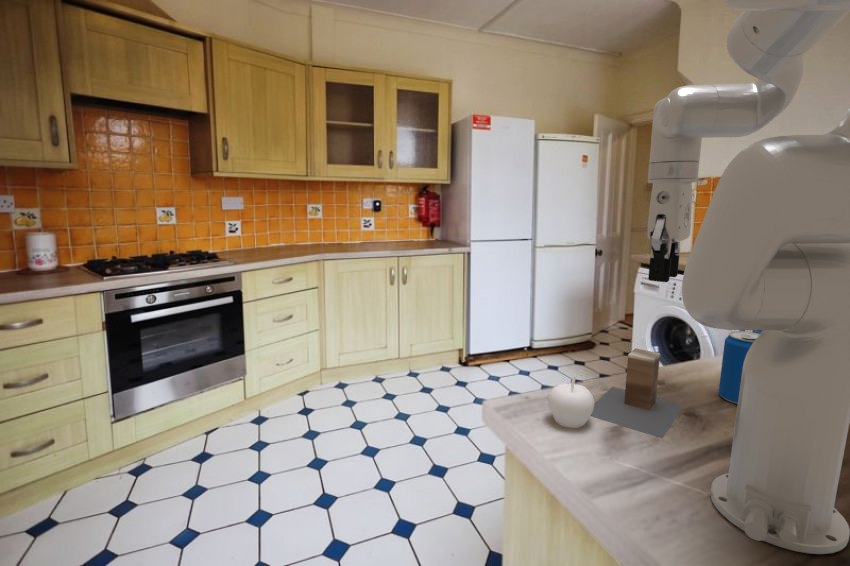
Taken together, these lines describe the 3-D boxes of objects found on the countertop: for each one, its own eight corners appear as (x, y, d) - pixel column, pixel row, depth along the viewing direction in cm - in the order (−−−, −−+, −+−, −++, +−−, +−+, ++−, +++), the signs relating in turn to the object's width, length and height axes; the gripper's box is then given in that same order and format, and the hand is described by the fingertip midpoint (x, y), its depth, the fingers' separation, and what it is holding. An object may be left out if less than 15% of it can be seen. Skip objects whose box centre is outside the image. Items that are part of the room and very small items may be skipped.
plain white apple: (602, 427, 72) (606, 380, 71) (569, 438, 69) (571, 389, 67) (570, 409, 78) (572, 365, 77) (538, 419, 75) (539, 373, 74)
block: (648, 410, 77) (653, 359, 75) (624, 403, 79) (628, 354, 77) (655, 402, 80) (660, 353, 78) (631, 396, 82) (635, 348, 80)
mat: (662, 440, 68) (662, 438, 68) (583, 415, 76) (583, 413, 76) (683, 407, 79) (683, 404, 78) (612, 388, 86) (612, 386, 86)
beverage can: (724, 406, 79) (732, 340, 76) (713, 391, 85) (720, 329, 82) (768, 411, 77) (778, 343, 74) (753, 395, 83) (762, 331, 81)
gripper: (686, 171, 69) (674, 289, 73) (707, 174, 82) (696, 274, 85) (634, 173, 74) (625, 283, 77) (661, 175, 86) (653, 270, 90)
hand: (663, 277), depth 81 cm, fingers open, 5 cm apart
